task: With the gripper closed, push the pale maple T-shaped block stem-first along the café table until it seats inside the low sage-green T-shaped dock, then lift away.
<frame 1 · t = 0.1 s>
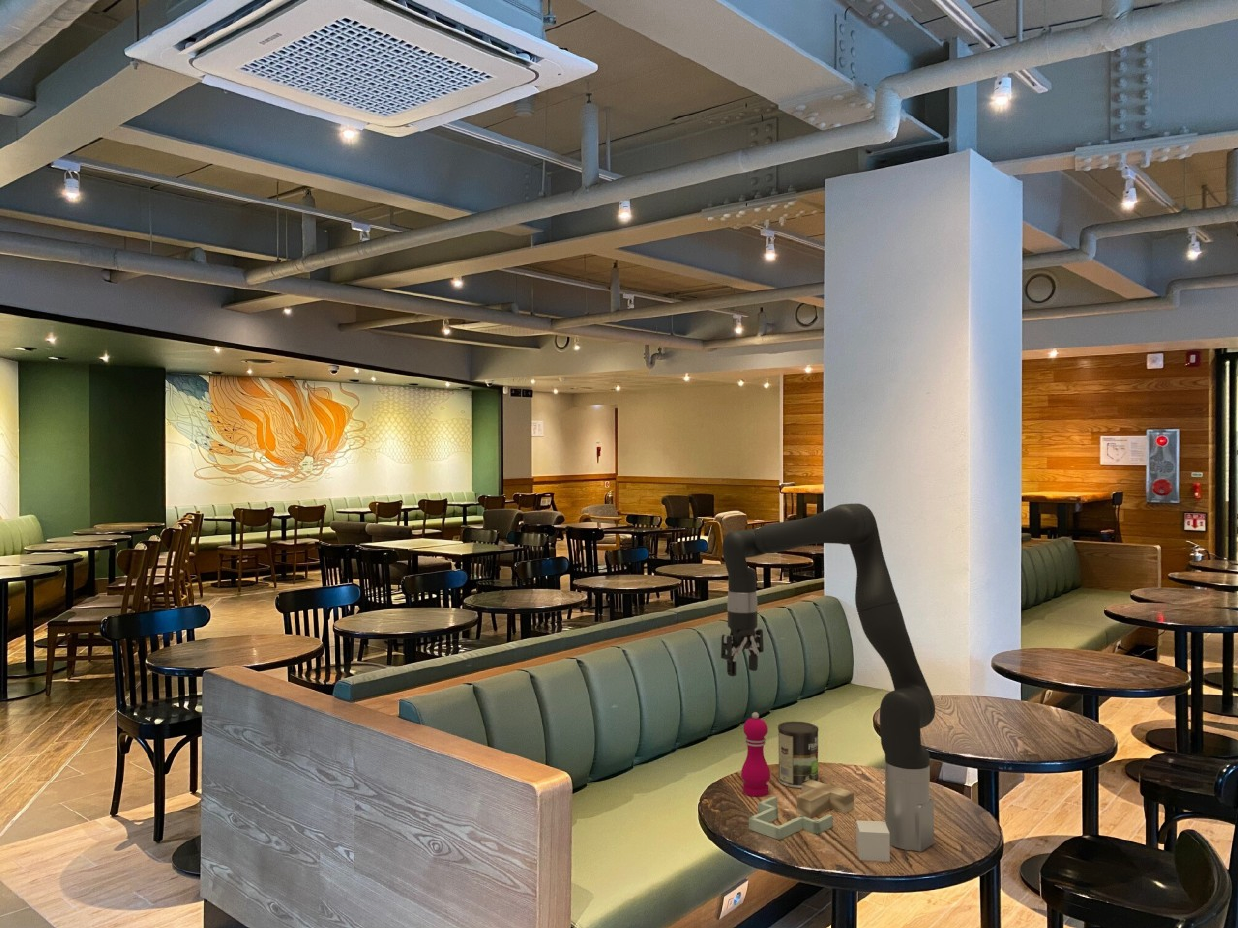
hand: (742, 672, 225), 29 cm above the table, fingers open, 8 cm apart
pepper mill: (755, 792, 222), on the table
t dock: (788, 822, 203), on the table
t block: (827, 804, 214), on the table
beige cube: (872, 855, 186), on the table
coffee can: (798, 781, 229), on the table
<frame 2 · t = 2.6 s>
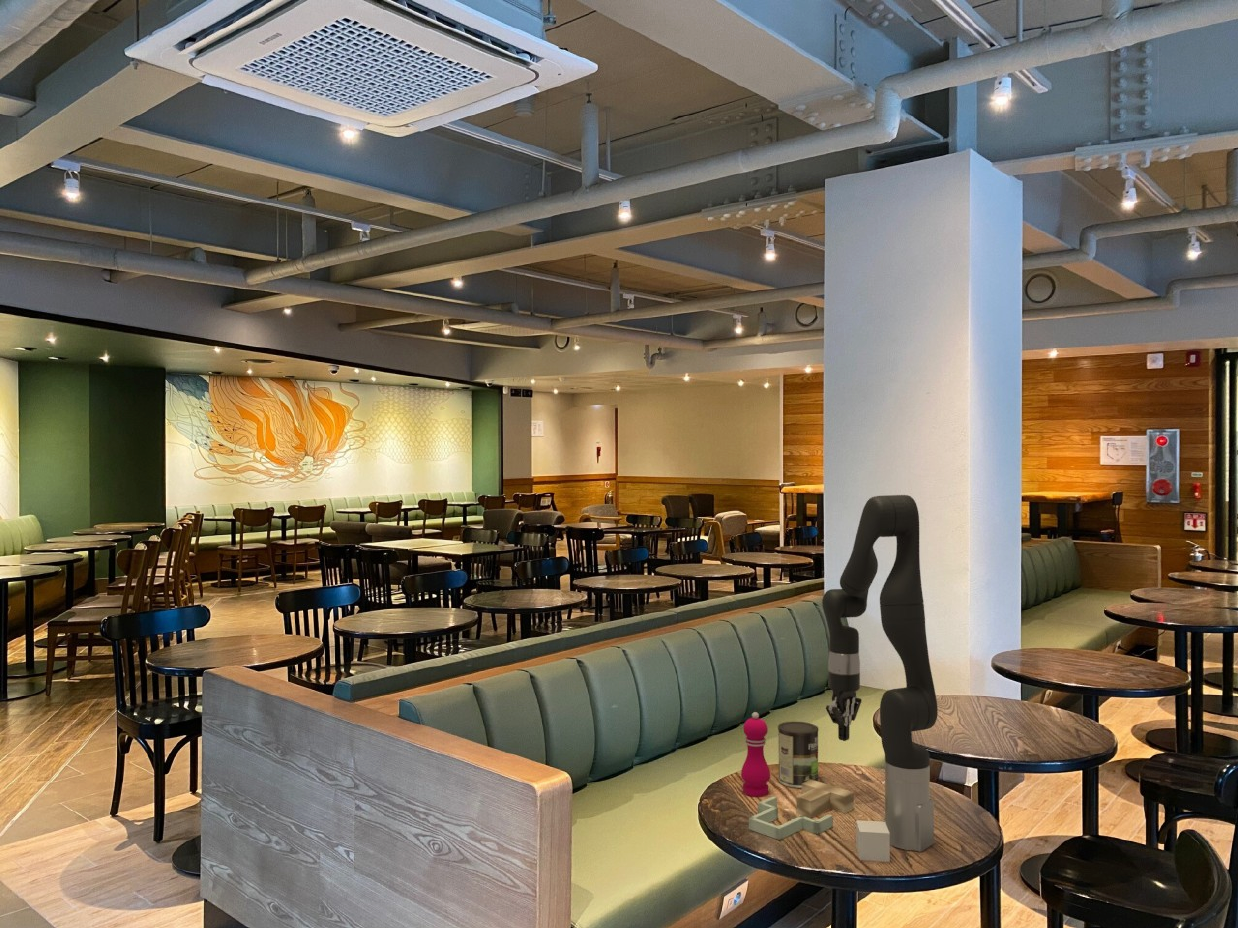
hand: (843, 739, 219), 14 cm above the table, fingers closed
nothing on the table moved.
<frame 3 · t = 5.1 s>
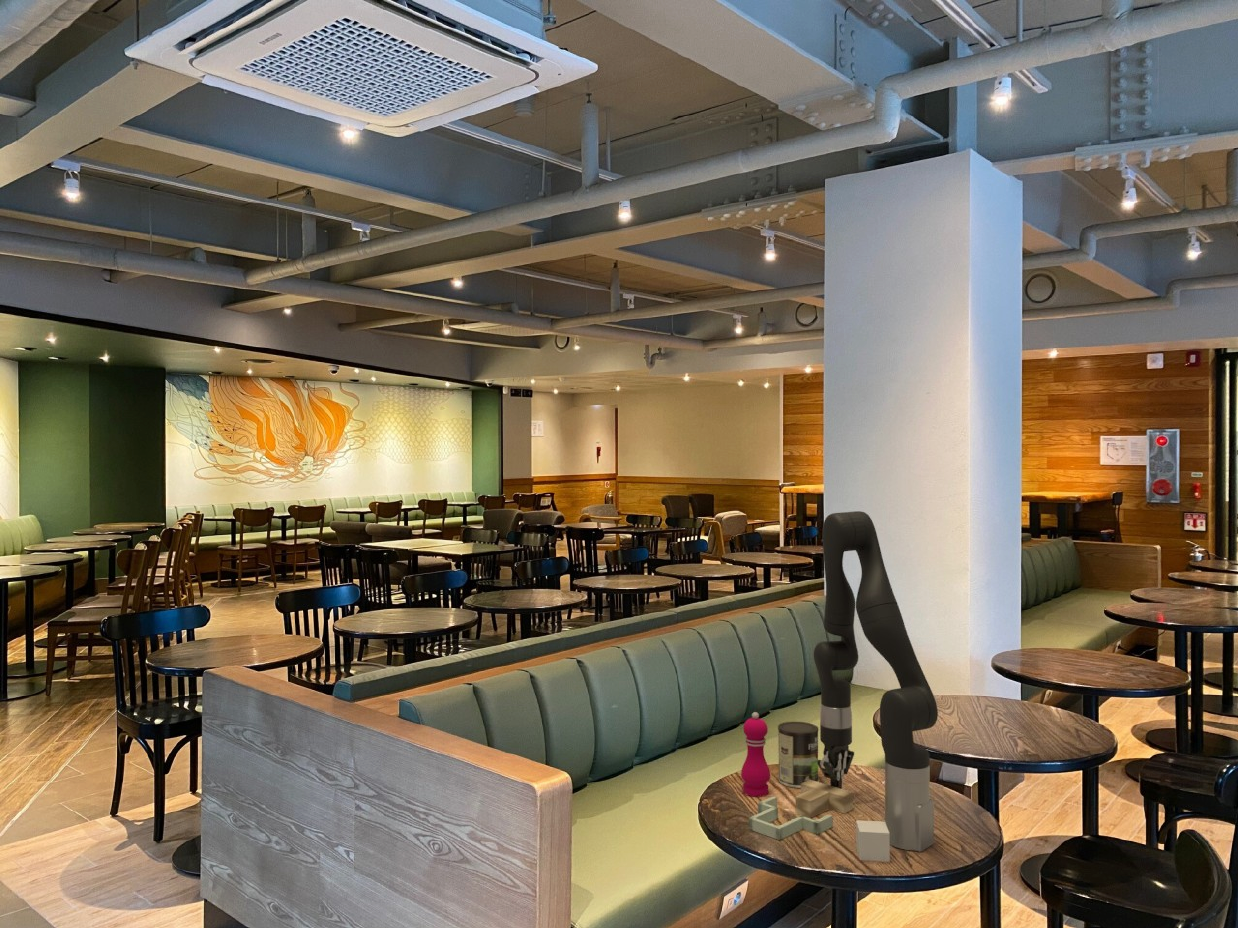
hand: (836, 793, 216), 2 cm above the table, fingers closed
t block: (826, 804, 214), on the table, touching gripper
everything else where it was.
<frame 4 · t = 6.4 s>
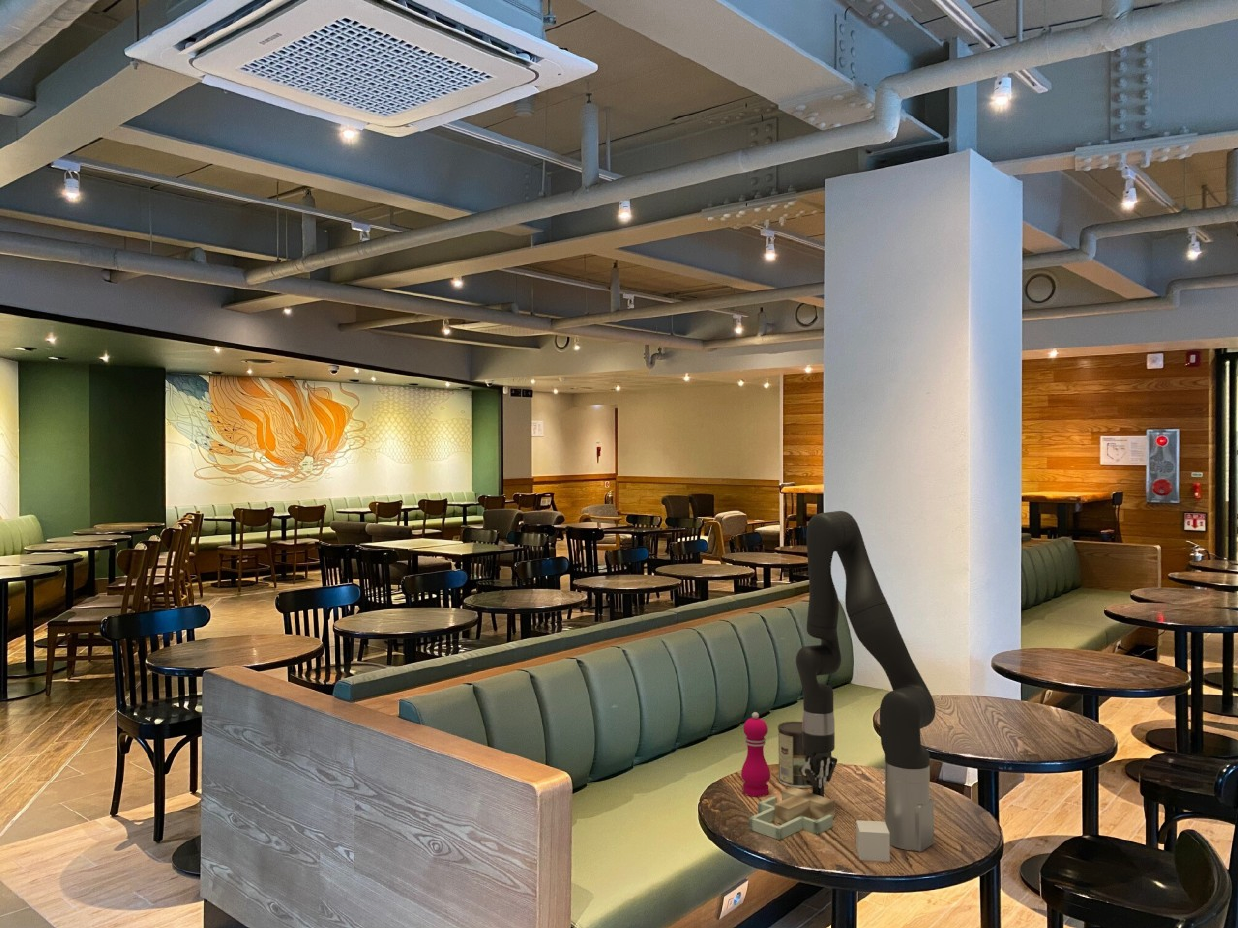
hand: (818, 801, 211), 2 cm above the table, fingers closed
t block: (807, 812, 209), on the table, touching gripper
everything else where it was.
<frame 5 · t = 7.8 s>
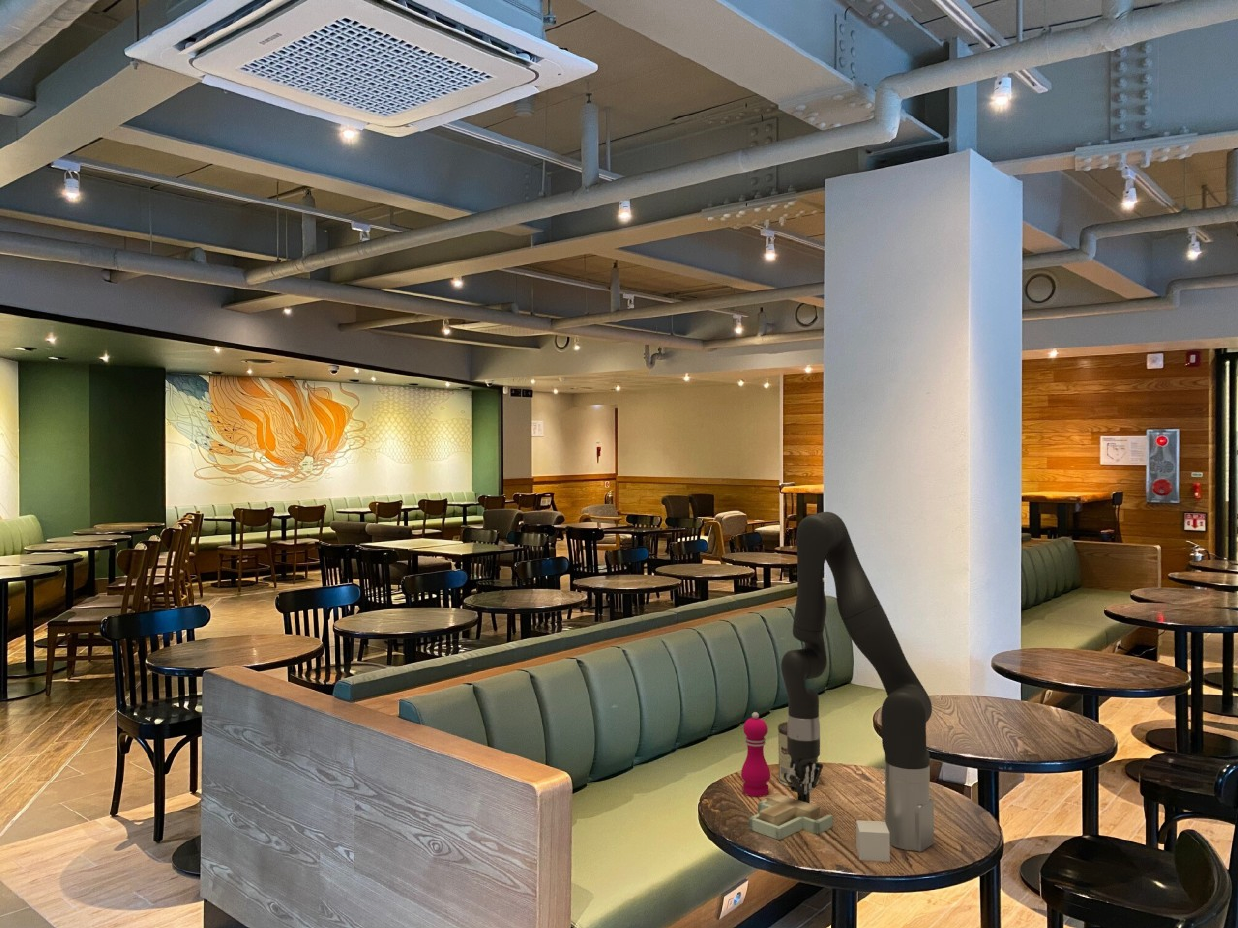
hand: (803, 808, 207), 2 cm above the table, fingers closed
t block: (792, 819, 205), on the table, touching gripper, t dock
everything else where it was.
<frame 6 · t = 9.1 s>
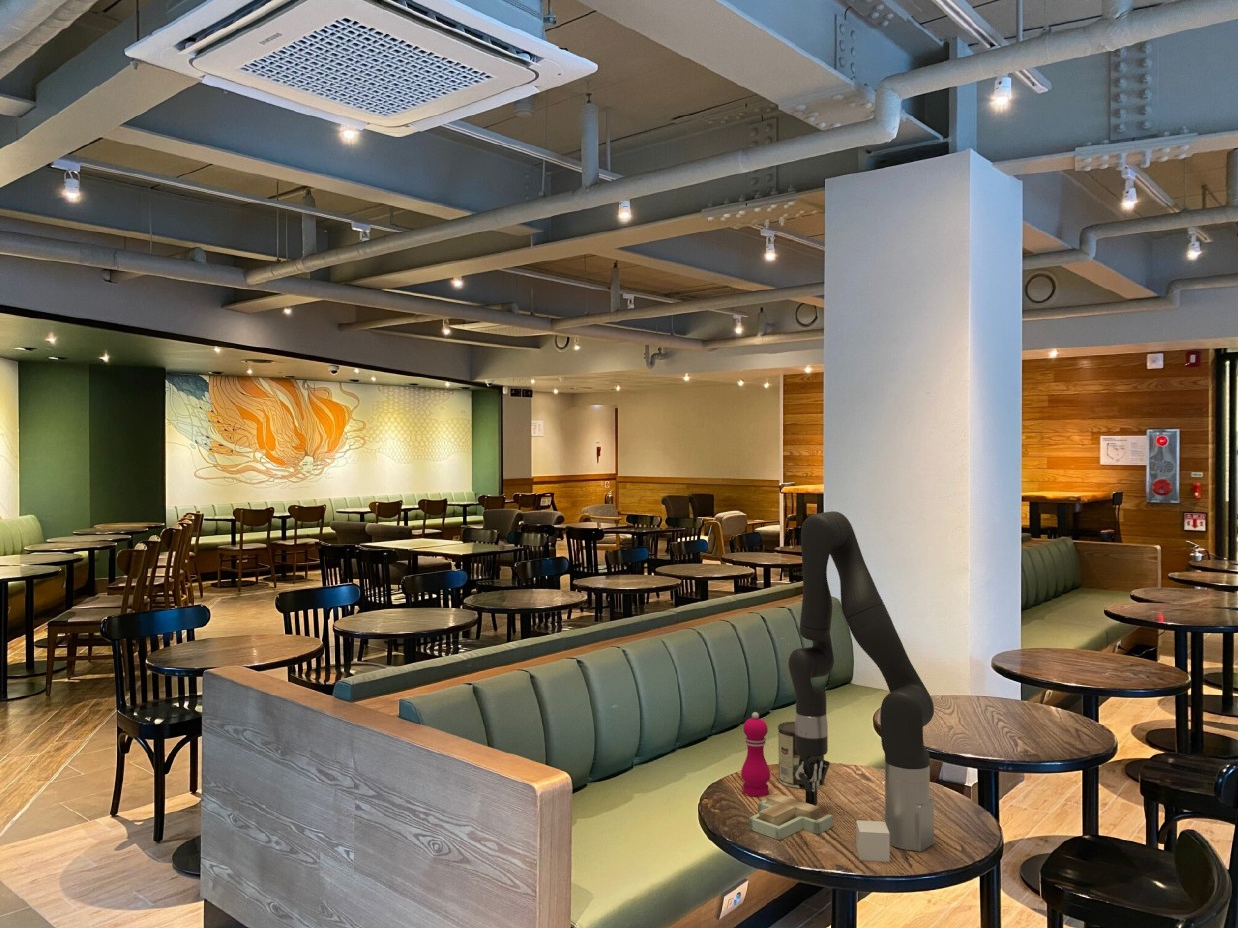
hand: (811, 805, 209), 1 cm above the table, fingers closed
t block: (792, 819, 205), on the table
everything else where it was.
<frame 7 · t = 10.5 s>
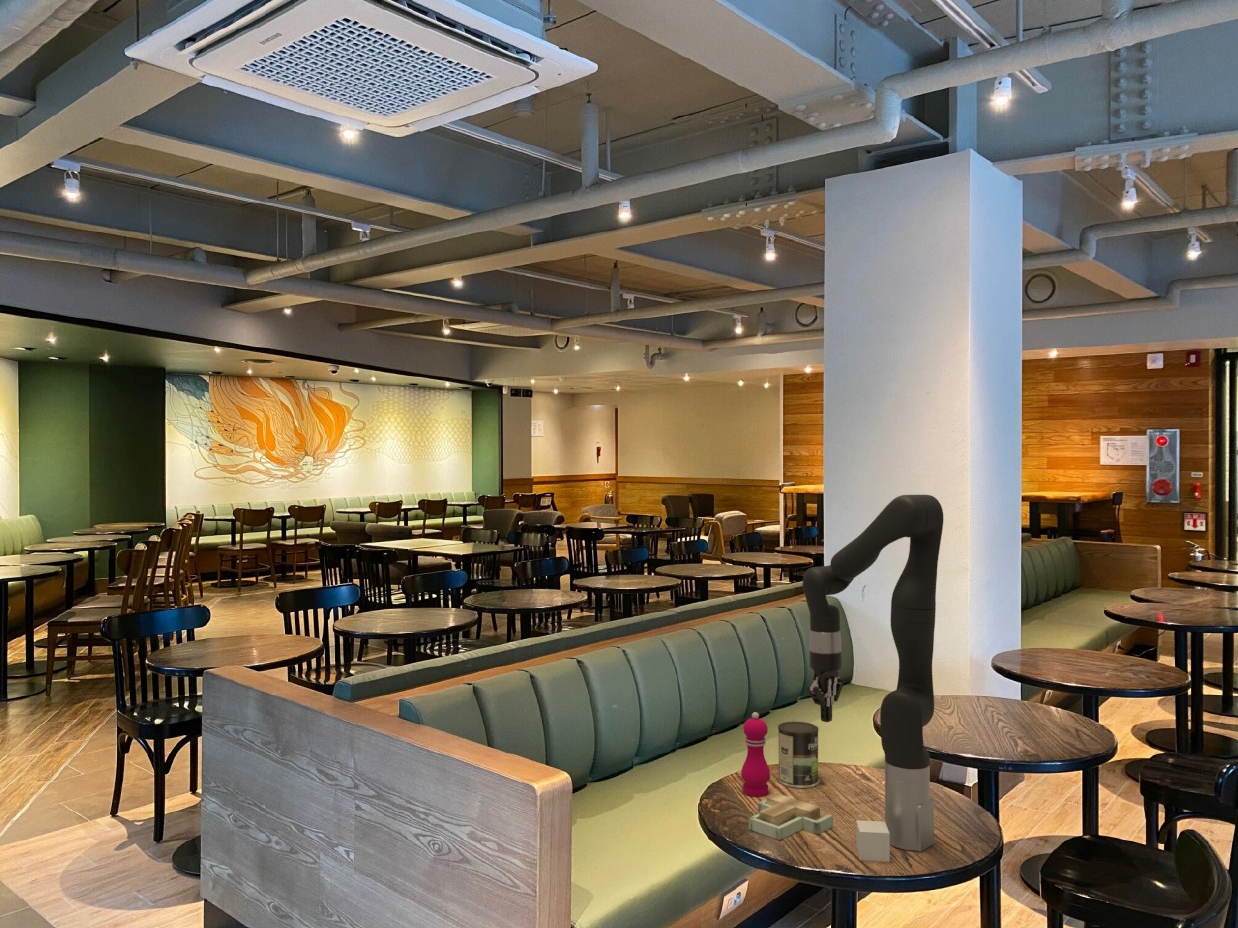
hand: (826, 720, 214), 20 cm above the table, fingers closed
nothing on the table moved.
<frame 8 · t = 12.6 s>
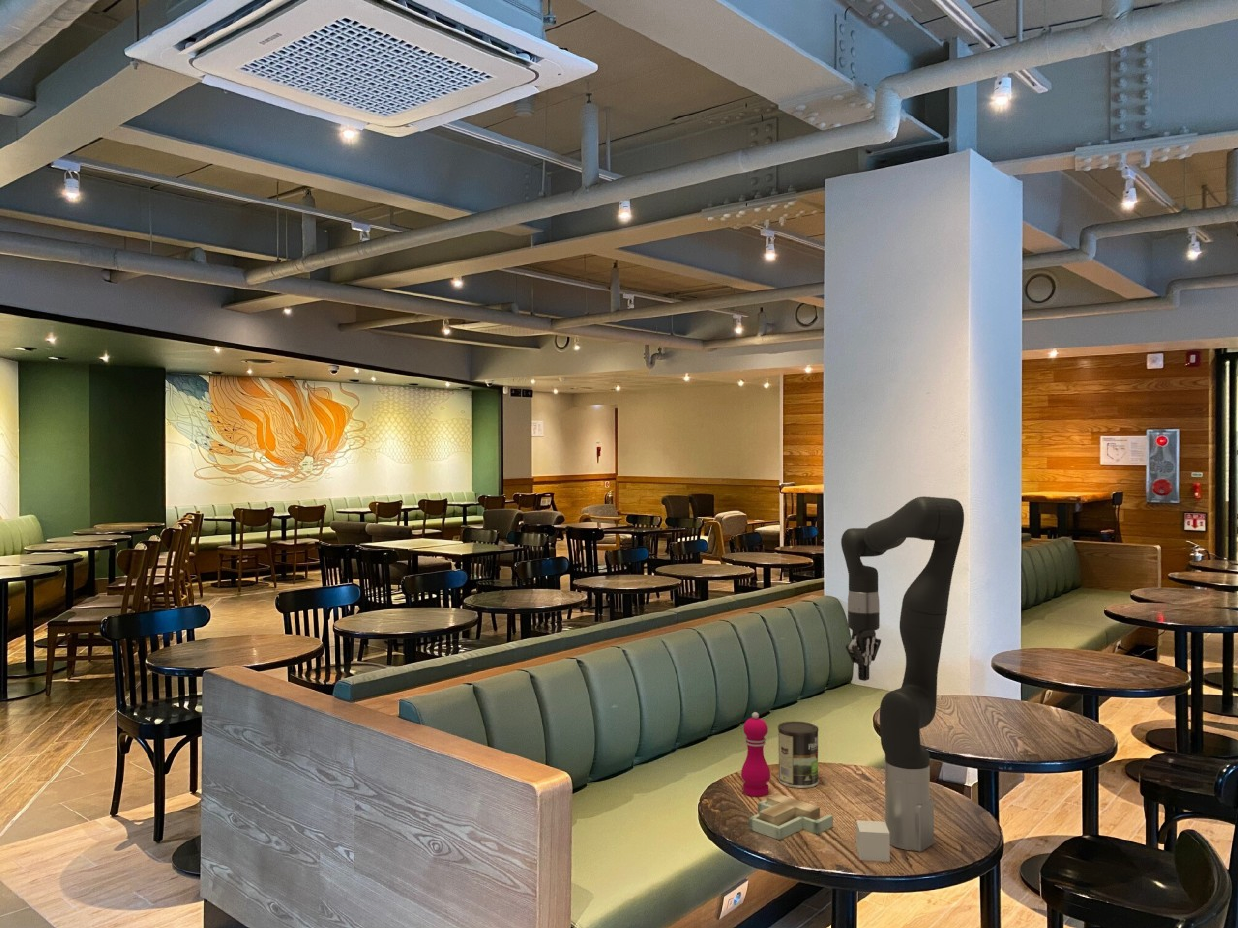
hand: (863, 679, 218), 29 cm above the table, fingers closed
nothing on the table moved.
at the end: t block 0.9 cm from the target spot on the t dock, point 0.0 cm above the t dock's base; t block tilted 0°; t block moved 13.6 cm from its start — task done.
